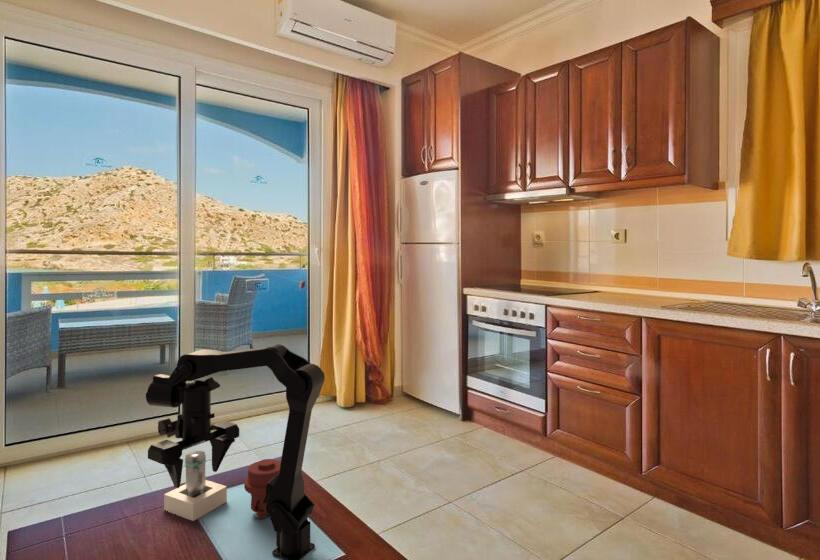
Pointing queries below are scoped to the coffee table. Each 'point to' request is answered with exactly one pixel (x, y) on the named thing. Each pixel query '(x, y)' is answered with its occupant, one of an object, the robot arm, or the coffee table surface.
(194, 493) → the cylinder
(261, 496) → the mechanical component
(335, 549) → the coffee table surface
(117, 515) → the coffee table surface
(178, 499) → the docking block
